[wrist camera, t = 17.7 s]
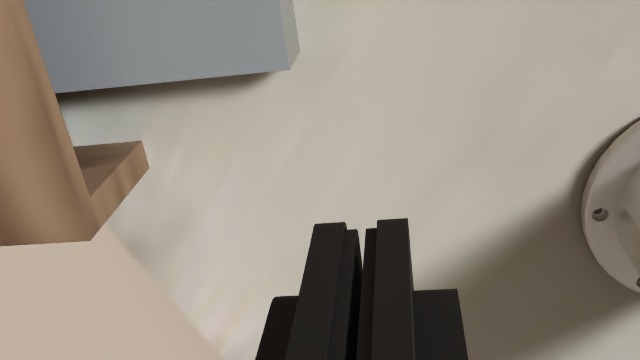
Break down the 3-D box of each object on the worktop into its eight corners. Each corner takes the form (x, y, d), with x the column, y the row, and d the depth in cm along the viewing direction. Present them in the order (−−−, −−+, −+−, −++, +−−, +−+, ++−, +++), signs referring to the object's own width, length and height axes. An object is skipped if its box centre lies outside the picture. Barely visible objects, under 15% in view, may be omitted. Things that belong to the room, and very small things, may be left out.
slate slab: (286, -49, 31) (272, -38, 27) (300, 48, 33) (289, 69, 30) (1, -12, 33) (-45, 2, 30) (32, 76, 36) (-8, 99, 32)
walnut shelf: (72, -100, 31) (-27, -90, 23) (149, 168, 37) (90, 240, 30) (-77, -77, 32) (-216, -61, 25) (22, 177, 39) (-64, 250, 31)
